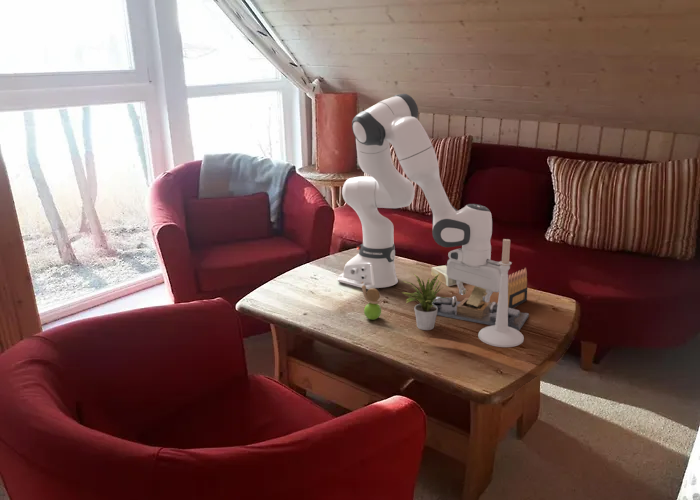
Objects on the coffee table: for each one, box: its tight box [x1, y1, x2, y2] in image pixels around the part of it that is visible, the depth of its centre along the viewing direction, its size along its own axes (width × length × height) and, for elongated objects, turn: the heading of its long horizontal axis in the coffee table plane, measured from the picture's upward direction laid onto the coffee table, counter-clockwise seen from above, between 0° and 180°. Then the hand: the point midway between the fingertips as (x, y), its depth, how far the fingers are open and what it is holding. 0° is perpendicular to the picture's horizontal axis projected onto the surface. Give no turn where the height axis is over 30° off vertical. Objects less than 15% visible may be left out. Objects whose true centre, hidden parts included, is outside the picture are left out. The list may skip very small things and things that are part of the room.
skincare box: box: [430, 264, 457, 287], centre depth 214 cm, size 6×4×12 cm
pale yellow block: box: [466, 286, 487, 309], centre depth 185 cm, size 4×4×10 cm
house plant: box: [400, 273, 447, 331], centre depth 176 cm, size 14×14×16 cm
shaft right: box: [489, 301, 521, 322], centre depth 179 cm, size 9×4×4 cm, turn 49°
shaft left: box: [433, 295, 458, 309], centre depth 187 cm, size 9×4×4 cm, turn 73°
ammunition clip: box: [508, 267, 528, 309], centre depth 190 cm, size 11×2×12 cm, turn 133°
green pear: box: [361, 281, 382, 321], centre depth 181 cm, size 5×6×12 cm
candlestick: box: [477, 238, 525, 348], centre depth 164 cm, size 13×13×30 cm
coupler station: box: [436, 297, 529, 331], centre depth 185 cm, size 32×12×4 cm, turn 61°
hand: (474, 297), depth 184 cm, fingers open, 8 cm apart
